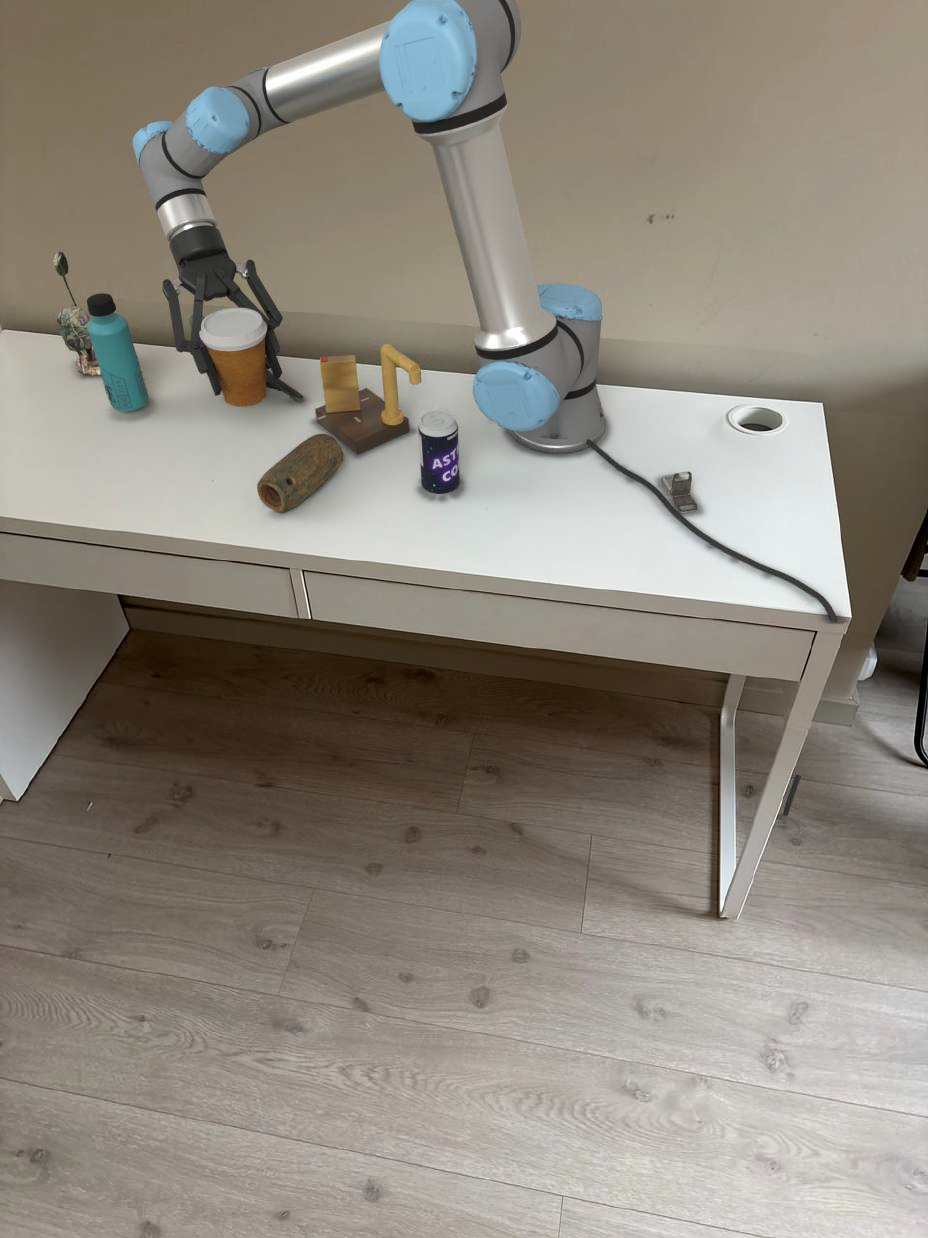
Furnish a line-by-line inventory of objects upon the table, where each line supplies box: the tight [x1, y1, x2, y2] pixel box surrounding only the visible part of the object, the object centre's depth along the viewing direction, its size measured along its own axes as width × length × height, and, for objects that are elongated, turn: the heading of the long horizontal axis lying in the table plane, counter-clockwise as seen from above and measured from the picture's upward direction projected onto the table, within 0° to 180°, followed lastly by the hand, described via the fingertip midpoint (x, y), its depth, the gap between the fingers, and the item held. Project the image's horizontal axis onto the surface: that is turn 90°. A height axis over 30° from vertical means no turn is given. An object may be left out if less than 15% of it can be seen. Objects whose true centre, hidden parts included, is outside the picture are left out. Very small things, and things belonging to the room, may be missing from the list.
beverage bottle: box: [86, 292, 150, 412], centre depth 163 cm, size 6×7×20 cm
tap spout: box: [379, 343, 422, 425], centre depth 156 cm, size 10×4×13 cm, turn 38°
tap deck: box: [315, 387, 410, 455], centre depth 165 cm, size 14×11×3 cm
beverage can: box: [417, 409, 460, 497], centre depth 149 cm, size 6×6×12 cm
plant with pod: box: [52, 250, 101, 377], centre depth 174 cm, size 8×11×20 cm
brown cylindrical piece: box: [256, 433, 345, 514], centre depth 151 cm, size 15×7×7 cm, turn 155°
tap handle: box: [319, 354, 361, 413], centre depth 161 cm, size 6×2×9 cm, turn 97°
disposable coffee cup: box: [199, 307, 268, 408], centre depth 148 cm, size 10×10×12 cm
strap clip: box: [661, 470, 698, 514], centre depth 149 cm, size 8×3×4 cm, turn 11°
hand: (249, 383), depth 148 cm, fingers closed on disposable coffee cup, 8 cm apart
